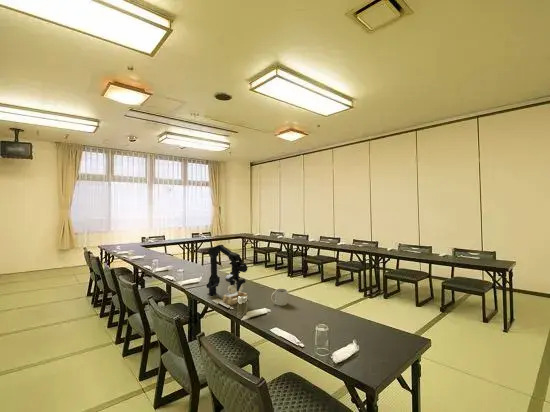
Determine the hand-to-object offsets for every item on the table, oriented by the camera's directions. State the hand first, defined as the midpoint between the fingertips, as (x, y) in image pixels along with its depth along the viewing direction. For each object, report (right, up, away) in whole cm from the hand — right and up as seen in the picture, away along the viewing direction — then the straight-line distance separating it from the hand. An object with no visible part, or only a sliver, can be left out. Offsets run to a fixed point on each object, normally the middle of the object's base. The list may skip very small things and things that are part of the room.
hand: (235, 290), depth 213 cm
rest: (-3, -8, +12) cm, 15 cm away
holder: (0, -8, 0) cm, 8 cm away
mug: (+35, -8, -6) cm, 36 cm away
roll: (0, +2, 0) cm, 2 cm away
